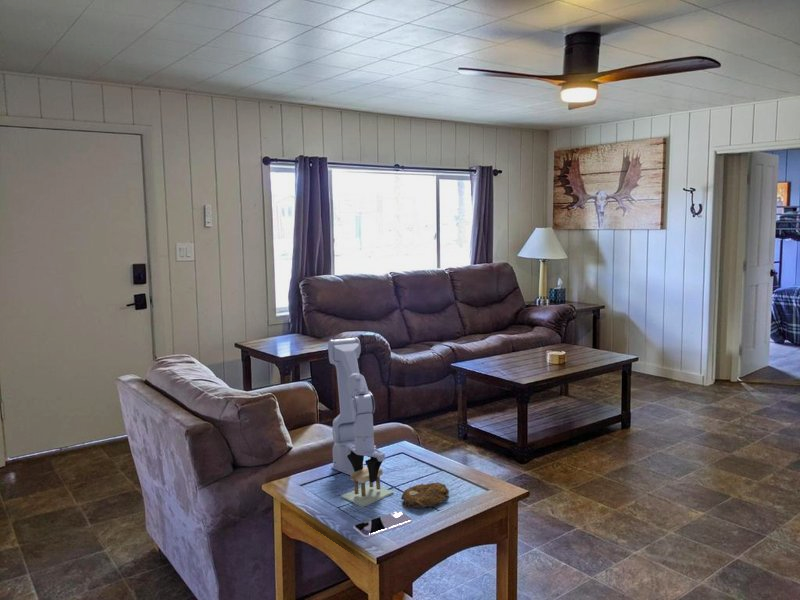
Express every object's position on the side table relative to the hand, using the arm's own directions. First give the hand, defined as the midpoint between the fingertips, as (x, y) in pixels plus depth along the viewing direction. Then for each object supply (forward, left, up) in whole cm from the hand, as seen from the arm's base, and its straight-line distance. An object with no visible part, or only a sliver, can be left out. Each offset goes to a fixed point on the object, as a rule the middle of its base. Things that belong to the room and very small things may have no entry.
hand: (366, 479), depth 183 cm
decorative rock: (+16, +9, -6) cm, 19 cm away
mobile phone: (+17, -9, -6) cm, 20 cm away
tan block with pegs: (0, 0, -4) cm, 4 cm away
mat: (0, 0, -5) cm, 5 cm away
